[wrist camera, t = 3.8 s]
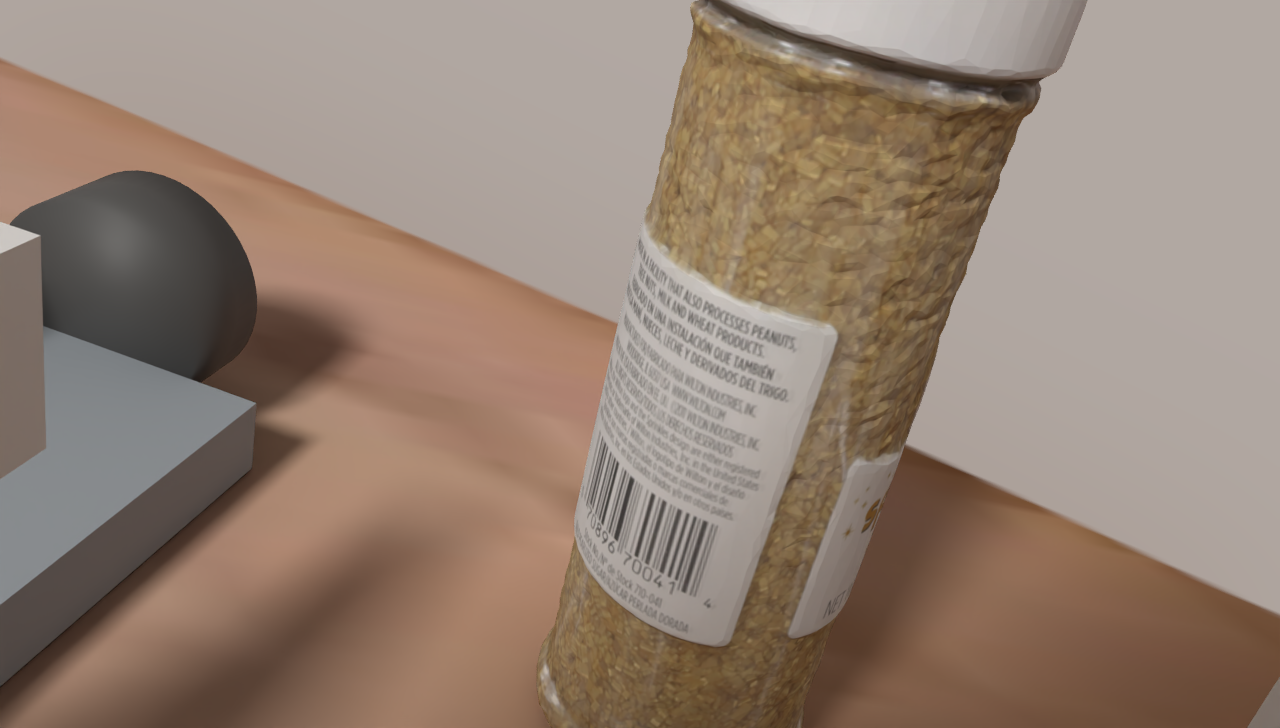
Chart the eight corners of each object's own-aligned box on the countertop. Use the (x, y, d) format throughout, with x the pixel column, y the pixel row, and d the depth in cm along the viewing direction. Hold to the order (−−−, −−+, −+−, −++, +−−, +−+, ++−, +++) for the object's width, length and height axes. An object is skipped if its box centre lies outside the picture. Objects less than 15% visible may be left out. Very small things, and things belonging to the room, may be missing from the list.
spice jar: (845, 782, 19) (1212, -71, 13) (592, 848, 17) (881, -139, 11) (713, 595, 23) (951, -152, 16) (488, 630, 20) (661, -215, 14)
